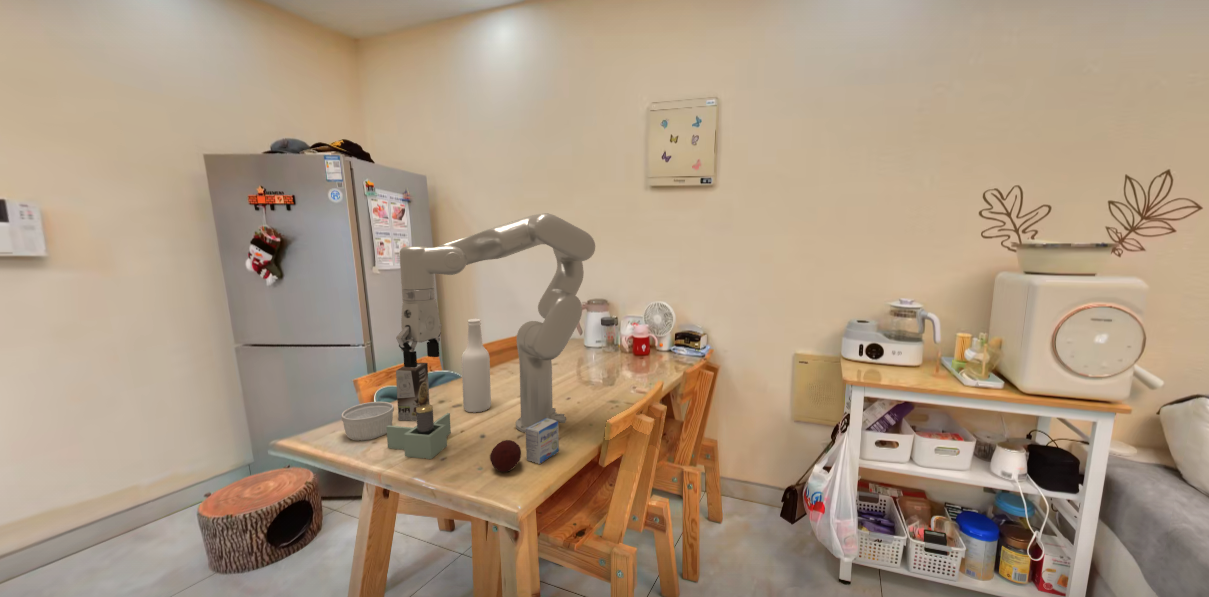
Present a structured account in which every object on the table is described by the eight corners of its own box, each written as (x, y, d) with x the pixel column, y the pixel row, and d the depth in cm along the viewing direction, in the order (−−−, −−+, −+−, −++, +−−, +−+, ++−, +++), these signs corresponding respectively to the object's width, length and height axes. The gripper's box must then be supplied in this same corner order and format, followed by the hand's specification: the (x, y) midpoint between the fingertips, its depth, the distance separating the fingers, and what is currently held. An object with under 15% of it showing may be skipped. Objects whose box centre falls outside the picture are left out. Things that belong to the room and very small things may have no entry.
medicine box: (539, 465, 106) (538, 431, 105) (525, 460, 108) (525, 427, 107) (559, 452, 112) (558, 420, 111) (546, 448, 115) (545, 417, 114)
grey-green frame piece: (461, 433, 123) (460, 413, 122) (431, 459, 108) (429, 436, 108) (414, 429, 126) (413, 410, 125) (379, 453, 111) (377, 431, 110)
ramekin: (366, 446, 116) (364, 421, 115) (331, 438, 120) (329, 415, 119) (405, 427, 128) (403, 404, 127) (371, 420, 132) (370, 399, 132)
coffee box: (418, 421, 132) (415, 370, 130) (397, 420, 132) (394, 370, 130) (430, 409, 141) (428, 362, 139) (411, 409, 141) (408, 362, 139)
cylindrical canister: (437, 448, 114) (435, 405, 113) (429, 455, 110) (426, 410, 109) (424, 446, 115) (422, 404, 114) (415, 453, 111) (412, 409, 110)
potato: (522, 458, 109) (521, 431, 108) (520, 475, 101) (519, 447, 100) (492, 459, 108) (492, 433, 107) (488, 477, 100) (487, 449, 99)
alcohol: (481, 414, 137) (477, 322, 133) (458, 411, 140) (454, 321, 136) (496, 405, 145) (493, 318, 141) (474, 402, 148) (470, 316, 144)
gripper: (410, 300, 99) (415, 372, 101) (450, 292, 115) (453, 353, 118) (381, 299, 100) (386, 370, 102) (425, 291, 117) (429, 352, 119)
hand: (422, 361), depth 110 cm, fingers open, 9 cm apart
